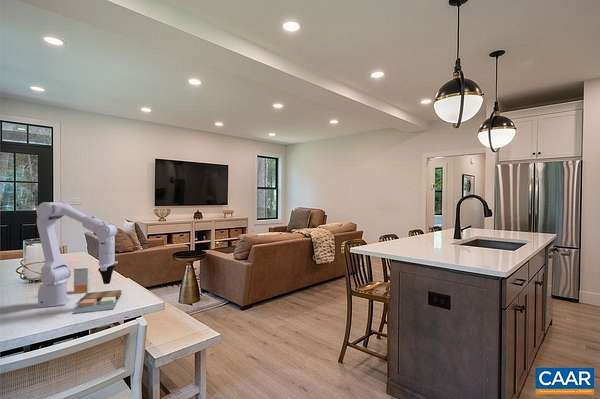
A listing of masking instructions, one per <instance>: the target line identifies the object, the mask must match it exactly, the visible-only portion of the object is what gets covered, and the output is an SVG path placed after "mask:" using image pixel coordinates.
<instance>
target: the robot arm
mask: <svg viewBox="0 0 600 399" xmlns="http://www.w3.org/2000/svg"><path fill="white" fill-rule="evenodd" d="M35 212H36V216H37V217H36V226H37V230H38V234H39V240H40V244H41V248H42V252H43V257H44V258H43V259H44V261H45V263H44V264H43V266H42V267H41V268H40V272H41V274H40V280H41V282H42V284H40V285H39V287H38V290H37V306H36V308H38V309H39V308H47V307H48V308H49V307H57V306H65V305H66V304H67V303H68V302H69V301H70V300H71V298H70V297H69V298H68V294H67V293H68V287H67V286H68V281H69V278H70V277H71V274H72V269H71V268H70V267H69V265H68V262H67V261H65V260H64V259H63V258H62V254H61V251H60V245H59V241H58V236H57V233H56V229H55V224H56V222H57V221H59V219H61V218H63V217H64V216H66V217H68V218H70V219H73V220H75V221H76V222H79V223H81V225H82V227H83V228H84V229H87V230H88V231H90V232H92V233H94V234H95V236H96V237H97V240H98V266H99V268H98V269H97V270H98V272H99V274H100V276H101V278H102V283H103V285H110V283H111V281H112V275H113V272H114V269H115V268H116V265H117V264H118V261H115V258H116V251H115V249H116V248H115V247H116V246H115V245H116V242H115V241H116V239H115V238H116V237H115V236H116V235H117V234H118V233H119V232H118V227H117V226H116V224H115V223H113V222H112V223H107V221H106V220H104V221H103V220H102V219H101V218H98V216H97V215H86V214H85V213H83V212H82V211H80V210H77V209H76V208H74V207H73V206H72V205H71V204H69V203H66V202H65V201H53V202H52V201H51V202H50V201H49V202H47V201H44V202H41V203H39V205H38V206H37V207H36V208H35Z"/></svg>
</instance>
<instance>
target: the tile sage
mask: <svg viewBox="0 0 600 399" xmlns="http://www.w3.org/2000/svg"><path fill="white" fill-rule="evenodd" d="M115 300H116V296H114V297H104V298H102V299H101V301H100V305H103V304H113V303H114V302H115Z"/></svg>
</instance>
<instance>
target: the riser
mask: <svg viewBox="0 0 600 399" xmlns="http://www.w3.org/2000/svg"><path fill="white" fill-rule="evenodd" d="M114 296H116V300H117V299H118V301H119V299H120V298H121V296H122V289H115V290H104V291H94V292H85V294H84V296H83V297H82V298H80V300H81V301H80V303H81V302H82V301H83V300H85V299H95V298H97V301H101V299H102V298H104V297H114Z"/></svg>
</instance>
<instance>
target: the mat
mask: <svg viewBox="0 0 600 399" xmlns="http://www.w3.org/2000/svg"><path fill="white" fill-rule="evenodd" d="M118 302H119V300H118V299H117V300H115V302H114V303H113V304H103V305H100V301H97V302H96V304H95V305H94V306H86V307H80V304H79V305H78V306H77V308H75V310H74V311H73V312H72V315H76V314H85V313H93V312H95V313H96V312H102V311H111V310H112V311H113V310H114V309H115V307H116V305H117V304H118Z"/></svg>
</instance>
